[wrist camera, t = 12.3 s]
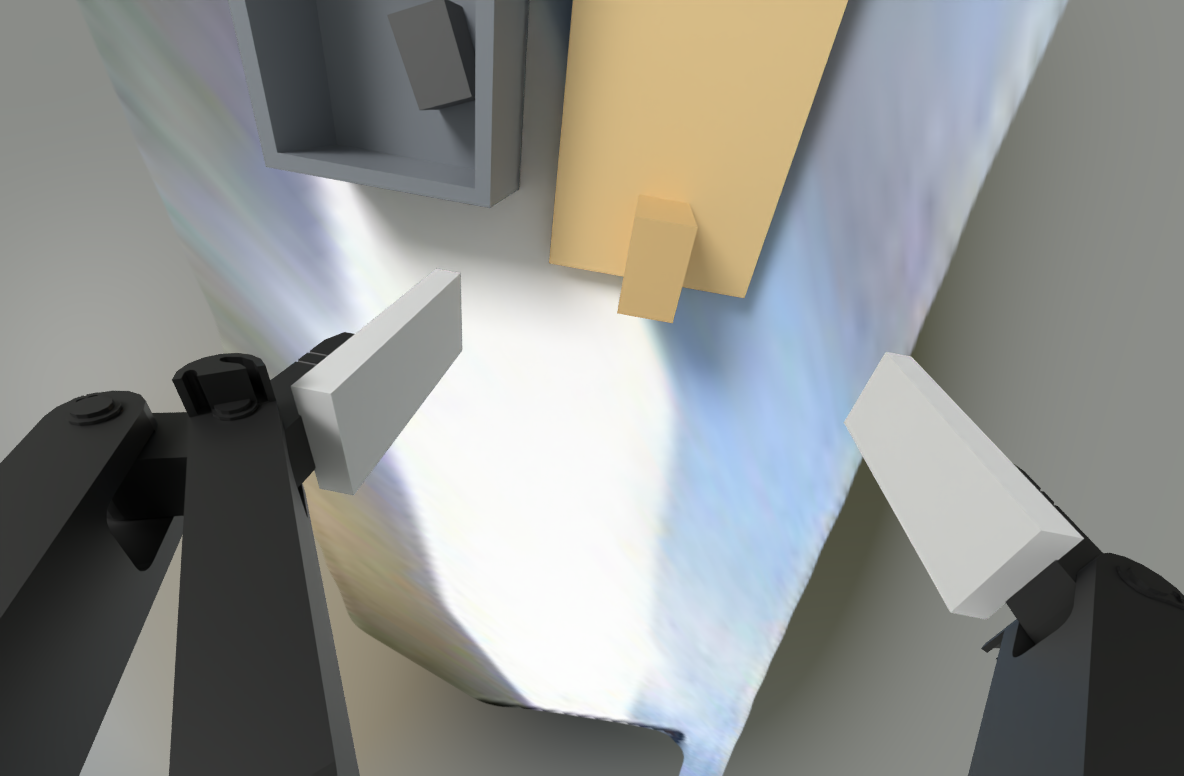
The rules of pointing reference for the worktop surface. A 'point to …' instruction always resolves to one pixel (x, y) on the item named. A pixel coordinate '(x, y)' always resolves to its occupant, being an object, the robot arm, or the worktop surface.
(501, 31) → the tub
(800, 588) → the worktop surface
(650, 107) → the lid
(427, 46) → the rubber block
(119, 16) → the worktop surface
